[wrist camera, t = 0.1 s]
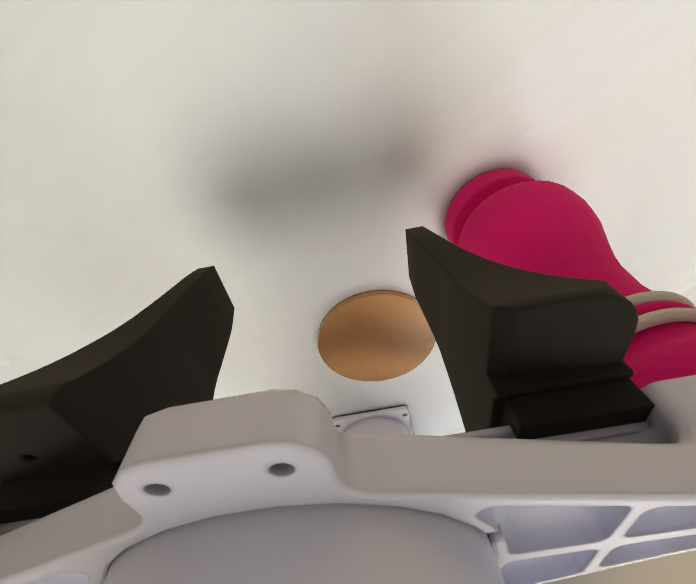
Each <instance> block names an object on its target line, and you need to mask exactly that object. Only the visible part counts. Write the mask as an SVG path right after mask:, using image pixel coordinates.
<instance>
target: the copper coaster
mask: <svg viewBox="0 0 696 584" xmlns="http://www.w3.org/2000/svg"><path fill="white" fill-rule="evenodd" d="M434 344H435V337H434V335H433V333H432V331H431V329H430V327H429V325H428V323H427V320H426V318H425V316H424V314H423V312H422V310H421V308H420V306H419V303H418V301H417V299H415V298H413V297H411V296H409V295H406V294H403V293H400V292H395V291H371V292H366V293H362V294H358V295H356V296H353V297H351V298H349V299H346V300H345V301H343V302H341V303H340V304H338V305H337V306H336V307H335V308H333V309H332V310H331V311H330V312H329V313H328V314H327V316H326V317H325V319H324V320H323V322H322V324H321V326H320V329H319V333H318V349H319V353H320V355H321V357H322V359H323V360H324V362H325V363H326V364H327V366H328V367H330V368H331V369H332V370H333V371H335V372H336V373H338V374H340V375H342V376H344V377H347V378H350V379H354V380H360V381H381V380H387V379H391V378H394V377H398V376H400V375H403V374H405V373H407V372H409V371H411V370H412V369H414V368H415V367H417V366H418V365H419V364H420V363H422V362H423V361H424V360H425V359H426V357H427V356H428V355H429V353H430V352H431V350H432V348H433V346H434Z"/></svg>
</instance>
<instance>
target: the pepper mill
mask: <svg viewBox="0 0 696 584" xmlns="http://www.w3.org/2000/svg"><path fill="white" fill-rule="evenodd" d="M446 232H447V236H448V239H449V241H450V242H451V243H453V244H455V245H456V246H458V247H460V248H462V249H464V250H467V251H469V252H471V253H473V254H475V255H478V256H480V257H483V258H486V259H488V260H491V261H494V262H497V263H500V264H503V265H507V266H510V267H514V268H518V269H522V270H526V271H531V272H536V273H541V274H548V275H554V276H560V277H568V278H580V279H591V280H602V281H606V282H607V283H608V284H610V285H611V286H612V287H613V288H615V289H616V290H617V291H618V292H619V293H621V294H622V295H623V296H624V297H626V298H627V299H628V300H629V301H630V302H632V304H633V305H634V306H635V308H636V309H637V312H638V324H637V327H636V331H635V334H634V336H633V338H632V341H631V343H630V345H629V347H628V349H627V351H626V354H625V356H624V358H623V360H624V361H625V362H626V363H627V365H628V366H629V367H630V368H631V369H632V370H633V373H634V374H633V376H632V377H631V378H630V379H631V380H632V381H633V382H634V383H635V385H636V386H637V387H638V388H639V389H640V390H641V389H642V388H643V387H645V386H646V385H648V384H650V383H653V382H657V381H662V380H668V379H674V378H680V377H686V376H692V375H696V308H695V306H694V304H693V303H692V302H691V301H690V300H689V299H687V298H686V297H683V296H681V295H679V294H676V293H673V292H666V291H651V290H649V289H648V288H646V287H644V286H643V285H641V284H640V283H639V282H638V281H637V280H636V279H635V278H634V277H633V276H632V275H631V274H630V273H628V272H627V271H626V270H625V269H624V268H623V267H622V266H621V265H620V263H619V262H618V260H617V259H616V258H615V256H614V254H613V252H612V249H611V247H610V245H609V242H608V240H607V237H606V235H605V232H604V229H603V227H602V224H601V222H600V220H599V219H598V217H597V216H596V214H595V213H594V211H593V210H592V209H591V207H590V206H589V205H588V204H587V203H586V201H585V200H584V199H582V198H581V197H580V196H578V195H577V194H576V193H575V192H573V191H572V190H570V189H568V188H567V187H565V186H563V185H560V184H557V183H554V182H550V181H539V180H537V181H535V180H534V179H532V178H531V177H529V176H527V175H526V174H524V173H522V172H520V171H517V170H513V169H497V170H492V171H489V172H486V173H484V174H481V175H479V176H478V177H476V178H474V179H473V180H471V181H470V182H468V183H467V184H466V185H465V186H464V187H463V188H462V189H461V190H460V191H459V192H458V193H457V195H456V196H455V198H454V199H453V201H452V202H451V205H450V207H449V210H448V212H447V217H446Z"/></svg>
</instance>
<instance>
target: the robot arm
mask: <svg viewBox="0 0 696 584" xmlns="http://www.w3.org/2000/svg"><path fill="white" fill-rule="evenodd" d="M406 242H407V255H408V268H409V277H410V281H411V284H412V287H413V290H414V294H415V297H416V299H417V301H418V303H419V306H420V308H421V310H422V312H423V314H424V316H425V318H426V320H427V323H428V325H429V327H430V329H431V331H432V333H433V335H434V337H435V340H436V342H437V344H438V347H439V349H440V352H441V355H442V358H443V361H444V364H445V367H446V370H447V372H448V376H449V379H450V382H451V385H452V388H453V391H454V394H455V397H456V401H457V404H458V407H459V411H460V414H461V417H462V421H463V424H464V427H465V431H466V432H465V433H459V434H453V435H446V436H425V435H412V433H411V424H410V415H409V409H408V407H406V406H401V407H395V408H389V409H384V410H378V411H372V412H366V413H360V414H354V415H348V416H342V417H336V418H334V419H333V420H332V417H331V414H330V411H329V410H328V409H327V408H326V407H325V406H324V404H323V403H322V402H321V401H320V400H319V399H318V398H316V397H314V396H312V395H309V394H306V393H303V392H301V391H298V390H268V391H262V392H256V393H250V394H244V395H238V396H233V397H227V398H221V399H215V400H213V396H214V391H215V386H216V382H217V378H218V375H219V372H220V368H221V365H222V362H223V358H224V355H225V352H226V348H227V345H228V341H229V338H230V334H231V330H232V324H233V316H234V306H233V304H232V302H231V300H230V298H229V296H228V294H227V292H226V290H225V288H224V286H223V284H222V281H221V279H220V277H219V275H218V273H217V271H216V269H215V267H214V266H210V267H205V268H200V269H197V270H195V271H194V272H192V273H191V274H189V275H188V276H186V277H185V278H184V279H183V280H181V281H180V282H179V283H177V284H176V285H175V286H174V287H172V288H171V289H170V290H169V291H167V292H166V293H165V294H164V295H162V296H161V297H160V298H159V299H157V300H156V301H155V302H153V303H152V304H151V305H149V306H148V307H147V308H145V309H144V310H143V311H141V312H140V313H139V314H137V315H136V316H134V317H133V318H132V319H130V320H129V321H127V322H126V323H124V324H123V325H121V326H120V327H118V328H116V329H115V330H113V331H112V332H110V333H108V334H107V335H105V336H103V337H102V338H100V339H98V340H96V341H94V342H92V343H91V344H89V345H87V346H85V347H83V348H81V349H79V350H78V351H76V352H74V353H72V354H70V355H68V356H66V357H64V358H62V359H60V360H58V361H55V362H53V363H51V364H49V365H47V366H44V367H42V368H40V369H38V370H36V371H33V372H31V373H29V374H26V375H24V376H21V377H19V378H16V379H14V380H11V381H9V382H6V383H3V384H1V385H0V584H544V583H548V582H553V581H557V580H562V579H566V578H570V577H575V576H579V575H583V574H587V573H592V572H596V571H600V570H605V569H609V568H614V567H618V566H622V565H627V564H631V563H636V562H640V561H645V560H650V559H654V558H659V557H664V556H669V555H674V554H679V553H684V552H690V551H694V550H696V375H692V376H686V377H680V378H674V379H668V380H662V381H657V382H653V383H650V384H648V385H646V386H645V387H643V388H642V389H641V390H640V389H639V388H638V387H637V386H636V385H635V383H634V382H633V381H632V380H631V379H630V378H631V377H632V376H633V374H634V373H633V370H632V369H631V368H630V367H629V366H628V365H627V363H626V362H625V361H624V360H623V358H624V356H625V354H626V351H627V349H628V347H629V345H630V343H631V341H632V338H633V336H634V334H635V331H636V327H637V324H638V312H637V309H636V308H635V306H634V305H633V304H632V302H630V301H629V300H628V299H627V298H626V297H624V296H623V295H622V294H621V293H619V292H618V291H617V290H616V289H615V288H613V287H612V286H611V285H610V284H608V283H607V282H606V281H602V280H591V279H580V278H568V277H560V276H554V275H548V274H541V273H536V272H531V271H526V270H522V269H518V268H514V267H510V266H507V265H503V264H500V263H497V262H494V261H491V260H488V259H486V258H483V257H480V256H478V255H475V254H473V253H471V252H469V251H467V250H464V249H462V248H460V247H458V246H456V245H455V244H453V243H451V242H449V241H447V240H445V239H444V238H442V237H440V236H438V235H437V234H435V233H433V232H432V231H430V230H428V229H426V228H425V227H423V226H421V227H416V228H411V229H406Z"/></svg>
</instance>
